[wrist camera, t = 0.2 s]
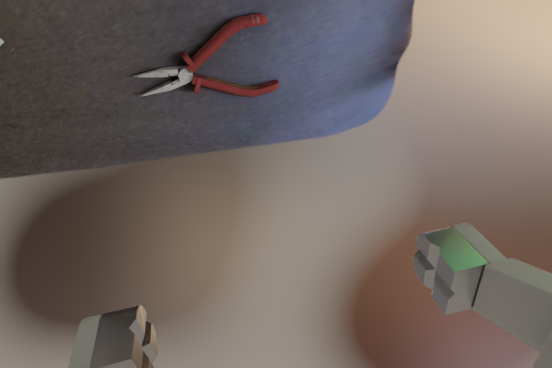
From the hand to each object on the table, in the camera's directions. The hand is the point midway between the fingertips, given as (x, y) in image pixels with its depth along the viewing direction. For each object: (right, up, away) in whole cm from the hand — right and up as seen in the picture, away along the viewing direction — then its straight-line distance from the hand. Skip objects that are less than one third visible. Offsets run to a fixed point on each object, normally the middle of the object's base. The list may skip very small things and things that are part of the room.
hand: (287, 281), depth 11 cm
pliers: (-10, +22, +43) cm, 49 cm away
